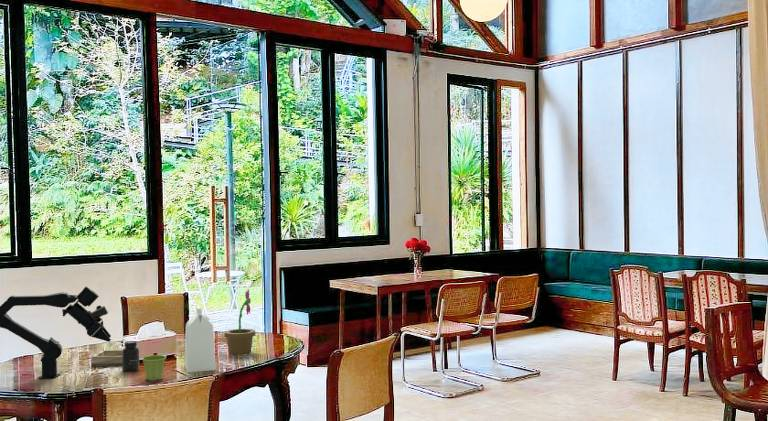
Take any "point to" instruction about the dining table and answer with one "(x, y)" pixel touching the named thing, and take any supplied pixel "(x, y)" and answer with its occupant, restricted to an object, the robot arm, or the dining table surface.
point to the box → (107, 358)
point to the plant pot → (154, 366)
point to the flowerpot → (240, 334)
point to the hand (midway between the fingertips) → (110, 338)
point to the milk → (199, 343)
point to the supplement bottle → (130, 356)
